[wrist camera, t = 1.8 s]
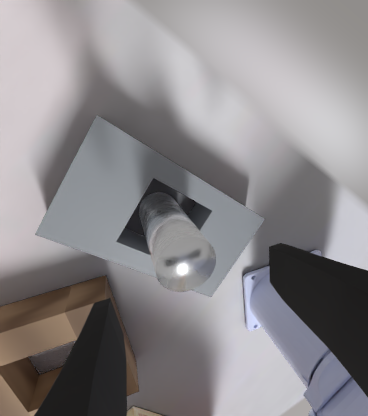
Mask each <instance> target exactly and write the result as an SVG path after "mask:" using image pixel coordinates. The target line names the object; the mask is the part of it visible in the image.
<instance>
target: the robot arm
mask: <svg viewBox="0 0 368 416" xmlns="http://www.w3.org/2000/svg"><path fill="white" fill-rule="evenodd" d="M321 255H322V253H321V251H319V250H314V251H311V252H307V251H304V250H301V249H298V248H295V247H292V246H289V245H286V244H282V243H280V244H277V245H274V246H270V247H269V266H267V267H264V268H261V269H258V270H255V271H252V272H249V273H247V274H245V275H244V276H243V287H244V301H245V316H246V328H247V329H248V331H252V330H255V329H257V328H260V327H263V329H264V330H265V332H266V333H267V334H268V336H269V337H270V338H271V340H272V341H273V343H274V344H275V345H276V347H277V348H278V349H279V351H280V352H281V353H282V355H283V356H284V358H285V359H286V360H287V362H288V363H289V364H290V366H291V367H292V368H293V370H294V371H295V373H296V374H297V375H298V377H299V378H300V379H301V381H302V382H303V384H304V385H305V386H306V388H307V390H306V391H305V392H304V394H303V395H304V397H305V398H306V399H307V401H308V402H309V404H310V405H311V407H312V409H311V410H310V412H309V416H368V271H367V270H364V269H360V268H357V267H353V266H350V265H347V264H343V263H340V262H337V261H334V260H331V259H328V258H325V257H322V256H321ZM252 276H253V277H252ZM34 416H127V364H126V351H125V342H124V334H123V331H122V328H121V326H120V323H119V320H118V317H117V315H116V312H115V309H114V306H113V304H112V301H111V298H108V299H105V300H102V301H98V302H95V303H94V304H93V306H92V308H91V310H90V313H89V315H88V317H87V319H86V322H85V324H84V326H83V328H82V330H81V332H80V334H79V336H78V338H77V340H76V342H75V344H74V346H73V348H72V350H71V352H70V354H69V356H68V358H67V360H66V362H65V364H64V365H63V367H62V369H61V371H60V373H59V374H58V376H57V378H56V380H55V382H54V383H53V385H52V387H51V389H50V390H49V392H48V394H47V395H46V397H45V399H44V400H43V402H42V404H41V405H40V407H39V409H38V410H37V412H36V413H35V415H34Z"/></svg>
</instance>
